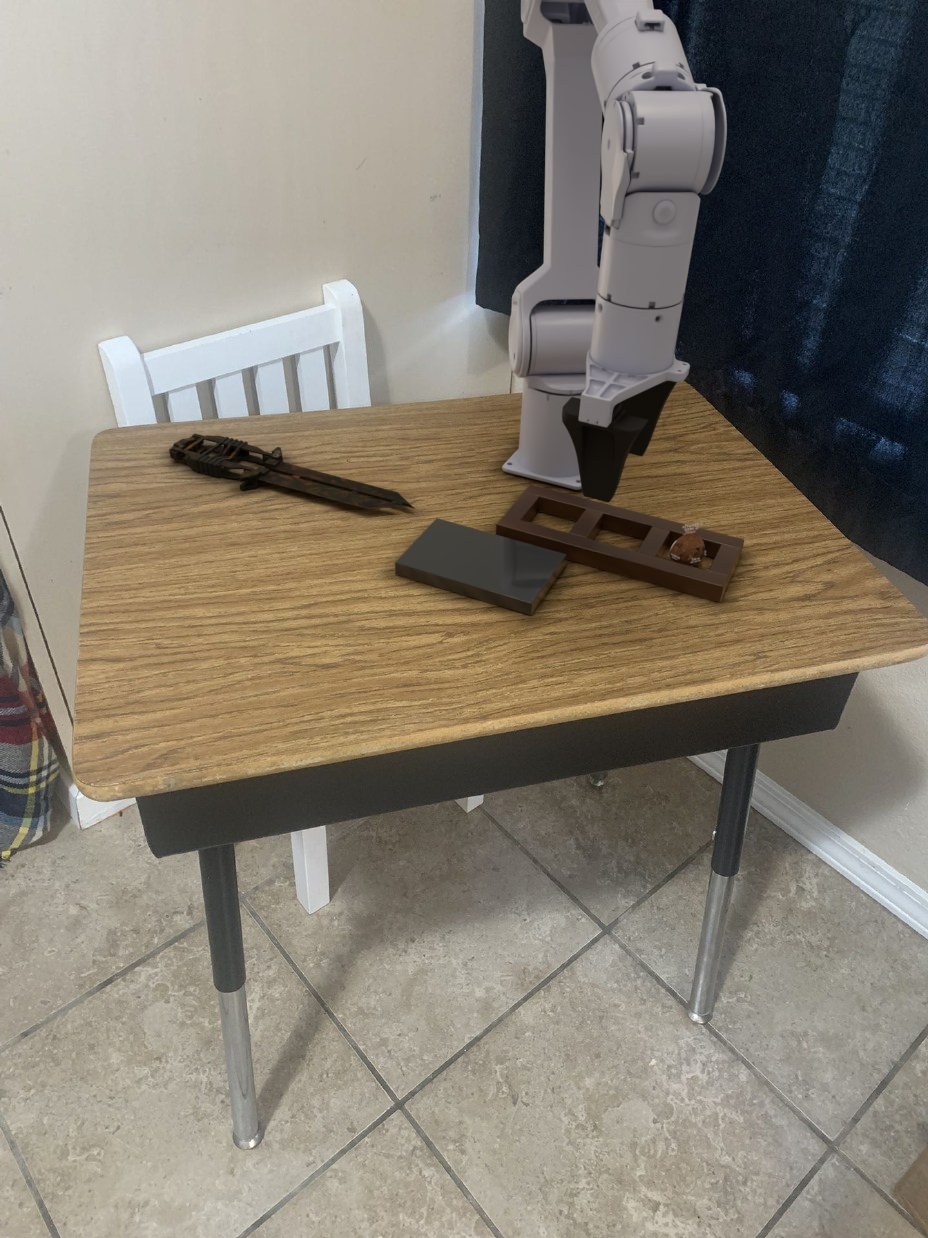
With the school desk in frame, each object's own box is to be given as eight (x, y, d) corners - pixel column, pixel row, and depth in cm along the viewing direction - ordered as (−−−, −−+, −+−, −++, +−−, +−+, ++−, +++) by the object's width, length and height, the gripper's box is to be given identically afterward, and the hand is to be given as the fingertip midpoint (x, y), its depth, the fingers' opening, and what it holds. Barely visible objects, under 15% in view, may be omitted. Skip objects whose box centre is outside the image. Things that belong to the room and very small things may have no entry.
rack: (528, 498, 90) (529, 483, 89) (741, 554, 83) (744, 539, 82) (495, 539, 84) (496, 523, 83) (719, 602, 78) (723, 586, 77)
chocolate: (676, 576, 81) (684, 535, 78) (663, 561, 82) (671, 521, 80) (708, 570, 82) (717, 529, 79) (694, 555, 83) (703, 515, 81)
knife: (423, 507, 88) (423, 494, 87) (383, 541, 84) (383, 527, 83) (207, 435, 98) (205, 422, 97) (161, 462, 93) (159, 449, 92)
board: (436, 529, 85) (436, 517, 85) (565, 565, 81) (566, 554, 81) (394, 574, 80) (394, 562, 79) (531, 615, 76) (532, 603, 75)
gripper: (667, 343, 58) (636, 534, 67) (726, 271, 69) (693, 445, 77) (556, 320, 61) (540, 508, 69) (630, 254, 71) (608, 424, 79)
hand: (614, 473), depth 73 cm, fingers open, 7 cm apart
